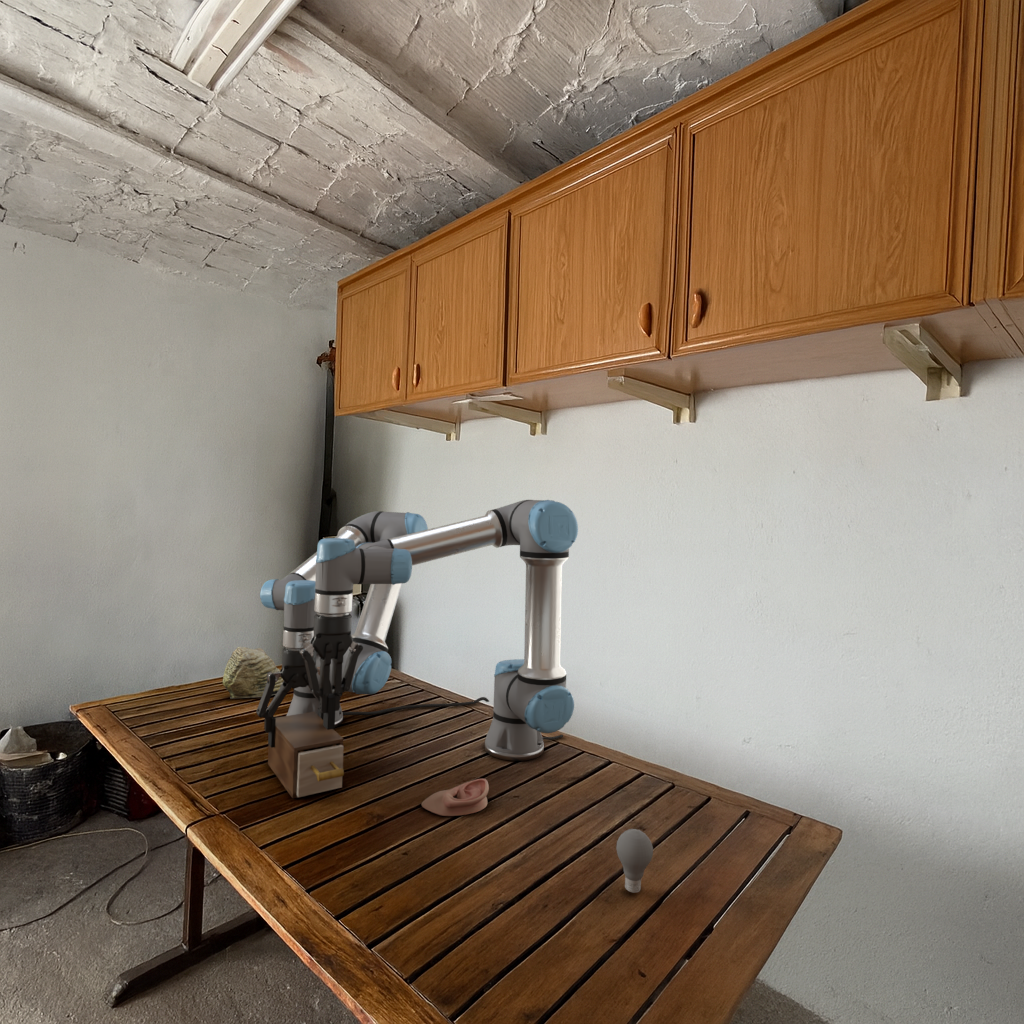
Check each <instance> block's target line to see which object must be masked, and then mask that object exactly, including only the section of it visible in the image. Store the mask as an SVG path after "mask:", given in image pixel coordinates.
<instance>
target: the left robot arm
mask: <svg viewBox="0 0 1024 1024" xmlns="http://www.w3.org/2000/svg"><path fill="white" fill-rule="evenodd" d="M428 529H429V528H428V524H427V521H426V519H425V518H424V517H423V515H421V514H419V513H414V512H409V511H407V512H396V511H383V510H376V511H370V512H367V513H364V514H362V515H360V516H358V517H356V518H354V519H352V520H350V521H348V523H346V524H344V525H343V526H342V527H341V528H340V529H339V530H338V531H337V535H336V536H335V537H334V538H345V539H352V540H354V542H355V546H356V547H357V546H358V545H360V544H362V543H366V542H372V543H374V542H378V541H382V540H387V539H391V538H395V537H399V536H403V535H407V534H411V533H415V532H420V531H424V530H428ZM316 558H317V551H316V552H314V553H313V554H312V555H311V556H309V558H307V559H306V560H305V561H303V562H302V563H301V564H300V565H298V566H297V567H296V568H294V569H293V570H292V571H291V572H289V573H288V574H287V575H286V576H284V577H283V578H282V579H278V578H275V579H269V580H267V581H265V582H264V583H263V585H262V586H261V589H260V592H259V597H260V601H261V604H262V606H263V607H265V608H267V609H272V610H276V611H282V612H283V633H282V647H284V648H283V649H282V654H281V655H282V656H281V658H282V659H281V668H280V669H279V670H280V672H274V673H272V672H268V673H267V684H266V686H265V689H264V692H263V694H262V697H260V700H259V703H258V706H257V708H256V712H255V713H256V715H257V716H258V717H259V718H264V723H263V724H264V725H263V728H264V732H265V733H266V734H267V733H268V734H267V735H268V736H267V737H268V739H267V745H268V746H269V745H270V747H271V748H272V747H275V724H276V719H275V718H276V717H275V716H274V715H275V713H276V712H277V710H278V709H279V707H280V705H281V704H282V702H283V701H284V699H285V697H286V696H287V694H288V693H290V691H291V689H293V695H292V696H293V697H292V699H291V702H290V704H289V708H288V711H287V713H286V715H285V716H290V715H296V714H303V713H309V712H315V713H316V714H317V715H318V716H319V717H320V718H322V719H323V716H324V713H322V712H321V711H320V709H319V705H320V696H315V695H314V694H313V693H312V692H311V690H310V685H309V681H308V676H307V671H306V667H305V662H304V659H303V657H302V656H301V654H300V653H299V651H300V649H302V648H304V649H305V648H306V647H307V646H309V645H310V644H311V640H312V638H313V635H314V616H315V615H316V614H317V613H316V612H315V611H314V605H315V582H316ZM402 586H403V583H400V584H394V585H392V584H369V588H368V591H367V594H366V597H365V600H364V604H363V606H362V608H361V609H362V610H361V612H360V616H359V619H358V622H357V625H356V628H355V631H354V633H353V634H351V636H352V638H353V641H354V642H355V643H358V644H360V645H362V646H363V650H362V651H361V653H360V654H359V656H358V659H357V663H356V667H355V670H354V674H353V678H352V682H351V685H350V689H349V691H347V692H346V693H355V694H356V695H375V694H376V693H378V692H379V691H381V690H382V689H383V688H384V686H385V685H386V683H387V682H388V680H389V678H390V675H391V671H392V658H391V656H390V655H391V654H389V653H388V651H389V647H388V644H387V643H386V640H387V636H388V632H389V629H390V627H391V626H390V625H391V623H392V619H393V616H394V612H395V609H396V605H397V602H398V600H399V597H400V592H401V589H402ZM349 648H350V647H349ZM349 648H348V650H347V651H346V653H345V654H344V655H343V663H342V676H343V673H344V669H345V665H346V661H347V658H348V654H349V652H350V651H349ZM313 653H314V655H313V656H312V658H313V661H314V665H315V669H316V674H317V679H318V684H320V656H319V655H318V654H317V652H316V651H315V650H313ZM279 677H281V678H282V679H283V680H284V681H283V683H282V684H281V686H280V689H279V690H278V692H277V694H276V695H274V697H273V698H272V696H273V695H272V692H273V690H274V687H275V682H277V681H278V679H279ZM331 690H332V659H331V664H330V679H329V694H332V691H331ZM271 695H272V696H271ZM271 698H272V700H271ZM270 701H271V702H270ZM473 701H474V702H473ZM481 701H484V702H486V703H489V702H490V700H489V698H488V697H486V696H481V697H479V698H477V699H474V700H472V701H464V702H463V701H462V702H447V703H425V704H424V703H423V704H411V705H409V704H408V705H400V706H394V707H388V708H385V709H384V708H383V709H379V710H374V711H343V709H342V706H341V705H340V708H339V711H335V728H337V727H339V726H340V725H342V723H343V722H344V716H377V715H381V714H384V713H389V712H394V711H401V710H409V709H422V708H423V709H424V708H447V707H448V708H449V707H461V706H462V707H464V706H473V705H476V704H478V703H480V702H481Z"/></svg>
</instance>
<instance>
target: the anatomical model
mask: <svg viewBox="0 0 1024 1024" xmlns="http://www.w3.org/2000/svg"><path fill="white" fill-rule="evenodd" d="M489 787H490V785H489V782H488V780H487V779H486V778H477V779H473V780H469V781H467V782H464V783H461V784H459V785H456V786H454V787H452V788H449V789H445V790H439V791H437V792H434V793H432V794H430V795H429V796H427V797H426V798H425V799H424V800H423V801H422V802H421V807H422V808H423V809H425V810H427V811H429V812H431V813H432V814H436V815H438V816H443V817H455V816H456V817H457V816H466V815H470V814H474V813H477V812H481V811H482V810H484V809H485V808H486V807H487V806H488V797H487V795H488V794H489V791H490V790H489Z"/></svg>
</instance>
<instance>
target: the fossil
mask: <svg viewBox="0 0 1024 1024" xmlns="http://www.w3.org/2000/svg"><path fill="white" fill-rule="evenodd" d="M280 670H281V669H279V668H278V667H277V665H276V663H275V662H274V660H273V659H272V658H271V657H270V656H269V655H268V654H267V653H266V652H265V650H264V649H263V648H260V647H258V648H251V647H247V646H246V647H245V646H238V647H237V648H236V649H235V650H233V651H232V653H231V656H230V657H229V659H228V660H227V663H226V666H225V668H224V671H223V675H222V676H223V677H222V685H223V687H224V688H225V690H226V691H228V693H229V698H230V699H250V698H261V697H262V694H263V692H264V689H265V686H266V684H267V673H268V672H272V673H274V672H280ZM283 681H284V680H283V679H282V678H281V677H279V679H278V681H277V682H275V687H274V690H273V692H272V695H271V697H272V696H275V695H276V694H277V692H278V690H279V689H280V686H281V684H282V683H283Z"/></svg>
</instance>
